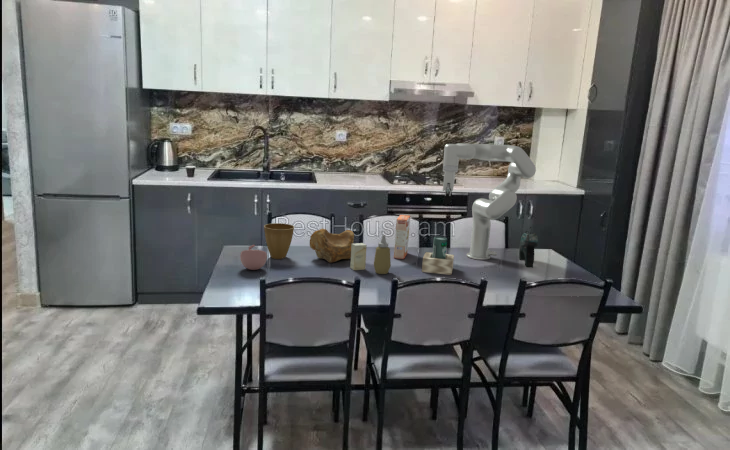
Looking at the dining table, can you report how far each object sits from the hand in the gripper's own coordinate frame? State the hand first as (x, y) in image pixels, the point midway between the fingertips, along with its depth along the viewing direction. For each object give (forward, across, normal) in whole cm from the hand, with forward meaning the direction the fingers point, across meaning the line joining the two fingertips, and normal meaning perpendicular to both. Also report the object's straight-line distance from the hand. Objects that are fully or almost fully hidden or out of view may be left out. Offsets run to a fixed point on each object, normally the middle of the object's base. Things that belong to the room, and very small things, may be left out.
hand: (447, 202), depth 280 cm
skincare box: (+30, +34, -38) cm, 59 cm away
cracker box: (+31, +2, -22) cm, 38 cm away
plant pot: (+30, +29, -80) cm, 90 cm away
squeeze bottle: (+30, +36, -26) cm, 54 cm away
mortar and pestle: (+30, +53, -83) cm, 103 cm away
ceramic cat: (+31, -9, +42) cm, 53 cm away
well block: (+30, +22, -1) cm, 37 cm away
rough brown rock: (+30, +23, -53) cm, 65 cm away
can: (+30, +21, -1) cm, 36 cm away
